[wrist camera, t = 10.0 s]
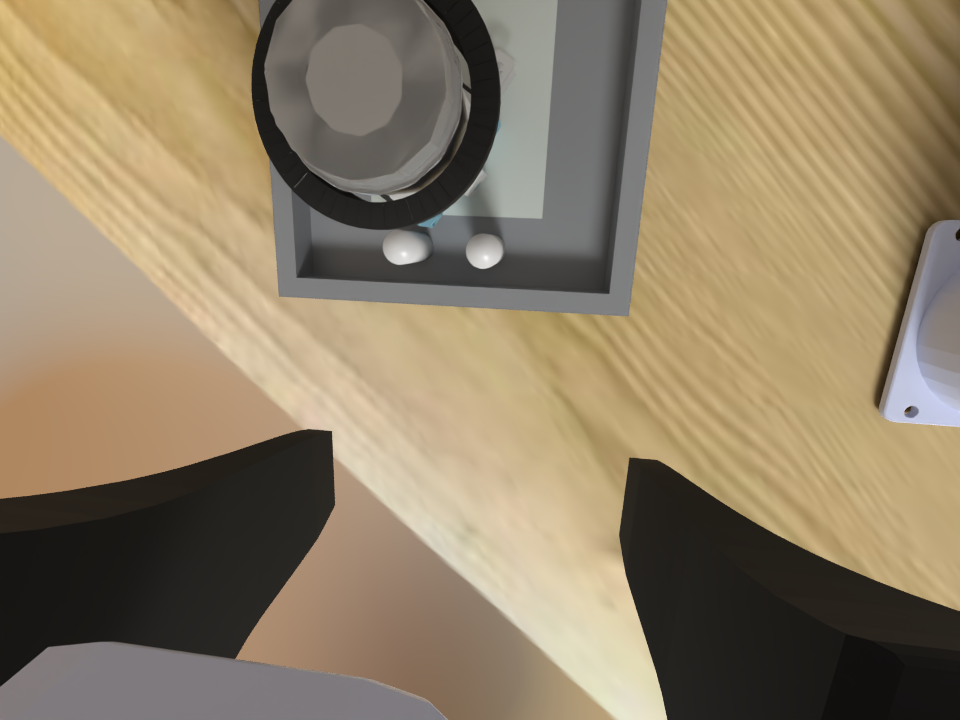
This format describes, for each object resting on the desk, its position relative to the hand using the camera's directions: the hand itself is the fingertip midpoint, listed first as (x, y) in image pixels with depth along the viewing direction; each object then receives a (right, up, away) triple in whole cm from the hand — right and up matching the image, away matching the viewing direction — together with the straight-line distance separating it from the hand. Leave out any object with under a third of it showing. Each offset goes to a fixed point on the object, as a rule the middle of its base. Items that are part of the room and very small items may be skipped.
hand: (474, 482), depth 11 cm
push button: (-1, +11, +7) cm, 13 cm away
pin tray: (-1, +13, +7) cm, 15 cm away
